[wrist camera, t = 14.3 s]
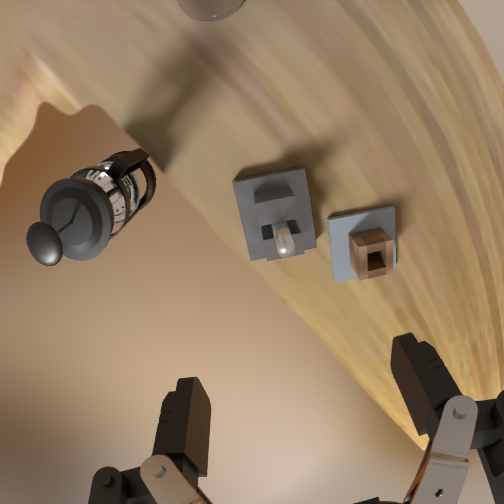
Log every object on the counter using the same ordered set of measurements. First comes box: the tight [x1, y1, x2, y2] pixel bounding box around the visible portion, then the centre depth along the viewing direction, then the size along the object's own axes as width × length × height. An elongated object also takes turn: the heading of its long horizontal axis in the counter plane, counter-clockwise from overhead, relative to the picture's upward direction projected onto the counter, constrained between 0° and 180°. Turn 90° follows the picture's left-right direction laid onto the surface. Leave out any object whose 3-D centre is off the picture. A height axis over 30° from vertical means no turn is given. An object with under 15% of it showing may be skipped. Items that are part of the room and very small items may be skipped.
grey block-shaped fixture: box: [233, 166, 317, 261], centre depth 40 cm, size 12×10×13 cm
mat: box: [327, 206, 396, 283], centre depth 48 cm, size 11×11×1 cm
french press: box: [26, 148, 156, 266], centre depth 33 cm, size 12×9×23 cm
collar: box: [348, 227, 394, 280], centre depth 45 cm, size 6×6×5 cm
